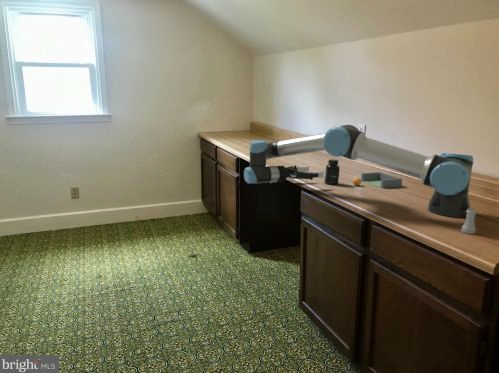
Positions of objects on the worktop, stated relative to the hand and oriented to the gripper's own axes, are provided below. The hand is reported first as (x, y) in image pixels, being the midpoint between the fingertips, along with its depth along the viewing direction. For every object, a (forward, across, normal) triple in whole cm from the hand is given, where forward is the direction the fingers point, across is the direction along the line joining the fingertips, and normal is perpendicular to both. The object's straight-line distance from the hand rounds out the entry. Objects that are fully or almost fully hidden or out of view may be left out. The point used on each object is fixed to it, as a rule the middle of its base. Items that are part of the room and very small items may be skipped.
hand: (315, 171), depth 200 cm
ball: (+20, +7, -6) cm, 22 cm away
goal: (+34, +7, -6) cm, 35 cm away
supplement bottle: (+10, 0, -7) cm, 12 cm away
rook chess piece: (+14, +76, -7) cm, 78 cm away
